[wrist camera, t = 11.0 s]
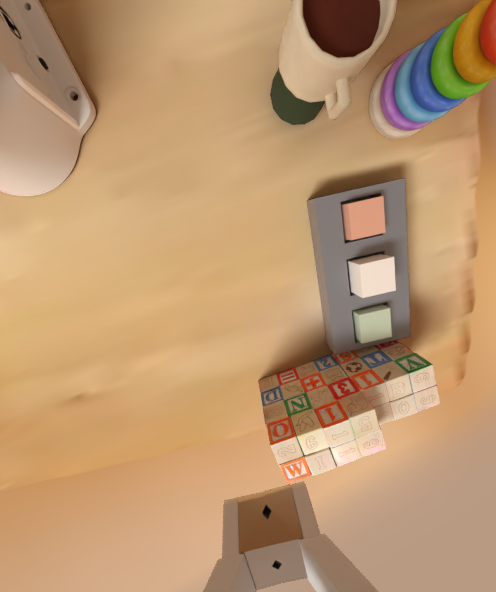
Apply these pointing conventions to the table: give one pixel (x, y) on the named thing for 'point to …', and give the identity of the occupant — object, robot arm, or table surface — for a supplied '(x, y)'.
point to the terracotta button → (363, 218)
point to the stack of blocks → (342, 405)
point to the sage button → (372, 323)
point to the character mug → (326, 54)
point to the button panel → (338, 251)
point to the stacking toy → (436, 74)
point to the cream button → (372, 275)
